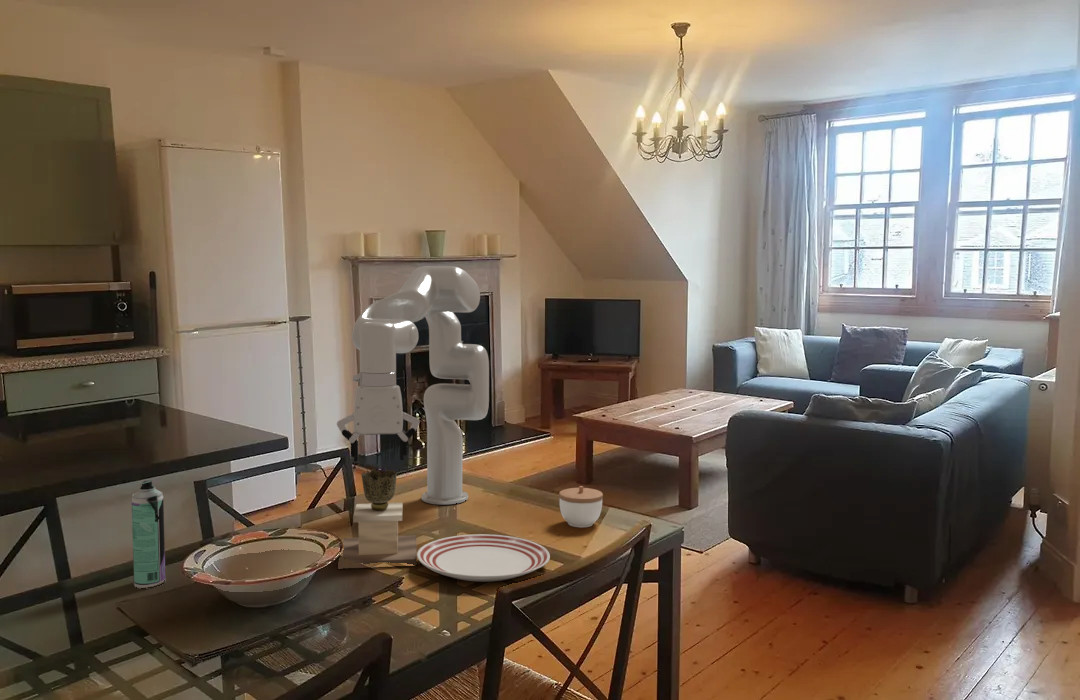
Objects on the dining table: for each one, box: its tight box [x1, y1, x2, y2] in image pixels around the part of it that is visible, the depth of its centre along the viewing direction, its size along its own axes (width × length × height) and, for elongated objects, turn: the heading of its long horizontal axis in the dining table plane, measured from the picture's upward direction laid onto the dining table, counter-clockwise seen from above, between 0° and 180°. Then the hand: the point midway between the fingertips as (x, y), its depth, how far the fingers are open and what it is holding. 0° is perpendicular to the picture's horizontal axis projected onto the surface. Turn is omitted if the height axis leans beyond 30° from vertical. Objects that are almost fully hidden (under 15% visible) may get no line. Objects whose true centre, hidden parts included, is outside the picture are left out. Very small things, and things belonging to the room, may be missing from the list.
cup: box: [361, 468, 398, 511], centre depth 171 cm, size 8×7×8 cm
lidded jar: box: [558, 485, 604, 529], centre depth 196 cm, size 11×11×9 cm
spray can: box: [131, 480, 166, 589], centre depth 154 cm, size 6×6×20 cm
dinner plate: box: [417, 533, 551, 583], centre depth 166 cm, size 28×27×3 cm
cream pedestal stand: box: [342, 502, 418, 566], centre depth 172 cm, size 16×16×10 cm
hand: (379, 459), depth 171 cm, fingers open, 9 cm apart
